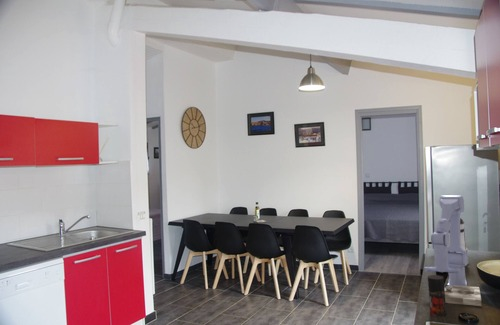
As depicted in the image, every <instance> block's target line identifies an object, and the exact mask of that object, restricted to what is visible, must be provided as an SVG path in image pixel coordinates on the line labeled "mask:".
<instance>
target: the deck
mask: <svg viewBox="0 0 500 325" xmlns="http://www.w3.org/2000/svg"><path fill="white" fill-rule="evenodd" d="M445 303H447V304H454V305H464V306H465V305H466V306H478V307H482V296H481V290H480V287H479V286H468V285H467V286H457V285H452V290H451V291H447V290H446V289H445Z"/></svg>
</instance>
